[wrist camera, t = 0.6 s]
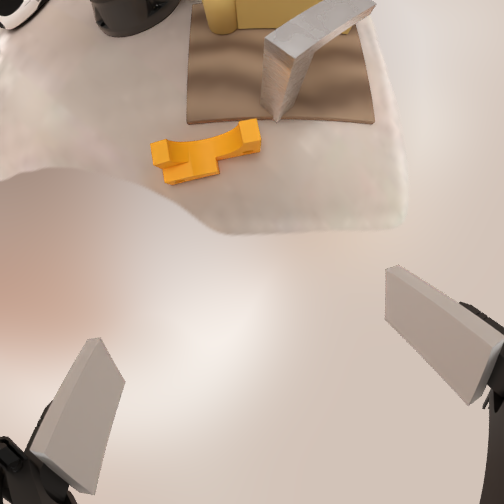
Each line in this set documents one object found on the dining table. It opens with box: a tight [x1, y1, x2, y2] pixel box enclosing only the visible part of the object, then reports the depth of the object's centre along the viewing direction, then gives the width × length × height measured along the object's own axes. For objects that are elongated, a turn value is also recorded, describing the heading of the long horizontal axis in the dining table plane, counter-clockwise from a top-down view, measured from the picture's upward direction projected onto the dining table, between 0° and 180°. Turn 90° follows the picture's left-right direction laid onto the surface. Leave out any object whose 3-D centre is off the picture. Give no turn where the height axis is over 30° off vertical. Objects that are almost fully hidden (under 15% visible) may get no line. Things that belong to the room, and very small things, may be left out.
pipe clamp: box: [150, 118, 261, 185], centre depth 31 cm, size 12×4×6 cm, turn 101°
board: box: [187, 3, 375, 124], centre depth 31 cm, size 22×25×1 cm
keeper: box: [260, 0, 376, 123], centre depth 24 cm, size 12×3×17 cm, turn 136°
